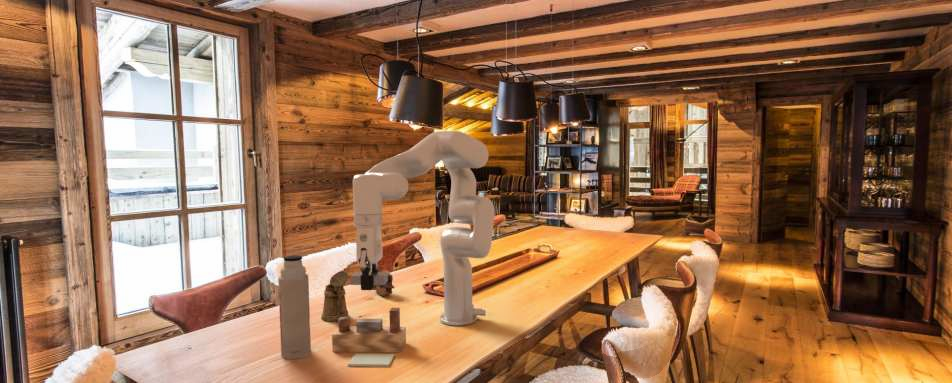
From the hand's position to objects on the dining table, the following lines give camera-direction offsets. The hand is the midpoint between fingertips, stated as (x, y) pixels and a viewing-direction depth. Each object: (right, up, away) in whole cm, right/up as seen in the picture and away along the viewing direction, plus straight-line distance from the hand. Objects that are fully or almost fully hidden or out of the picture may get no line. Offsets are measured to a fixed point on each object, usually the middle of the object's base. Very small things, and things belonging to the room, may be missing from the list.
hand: (369, 286), depth 137 cm
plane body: (-2, -20, +12) cm, 23 cm away
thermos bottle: (-23, -21, +8) cm, 32 cm away
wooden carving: (-9, -16, +67) cm, 69 cm away
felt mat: (0, -21, +2) cm, 21 cm away
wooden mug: (-19, -18, +37) cm, 46 cm away
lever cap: (0, +1, 0) cm, 1 cm away
